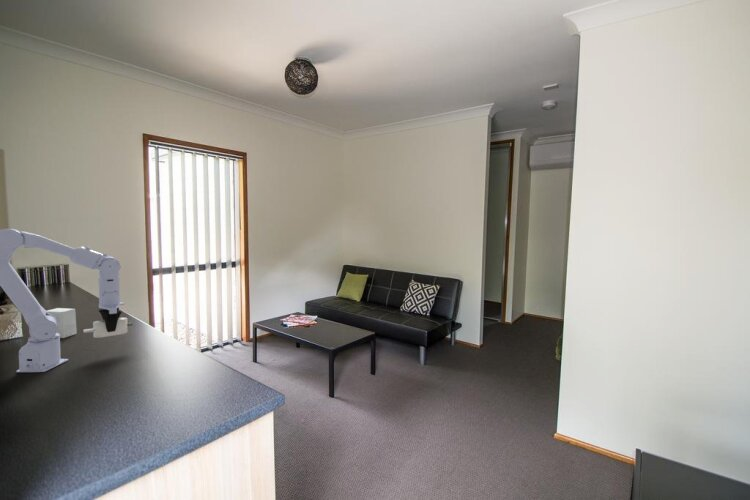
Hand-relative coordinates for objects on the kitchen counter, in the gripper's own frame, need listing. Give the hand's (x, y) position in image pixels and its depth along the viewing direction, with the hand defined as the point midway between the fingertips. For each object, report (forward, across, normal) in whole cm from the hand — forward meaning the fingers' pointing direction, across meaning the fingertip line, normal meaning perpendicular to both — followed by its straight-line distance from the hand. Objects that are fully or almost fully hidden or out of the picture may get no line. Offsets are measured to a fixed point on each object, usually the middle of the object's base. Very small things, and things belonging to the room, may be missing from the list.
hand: (110, 330), depth 121 cm
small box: (+9, +35, +11) cm, 38 cm away
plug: (+2, 0, 0) cm, 2 cm away
